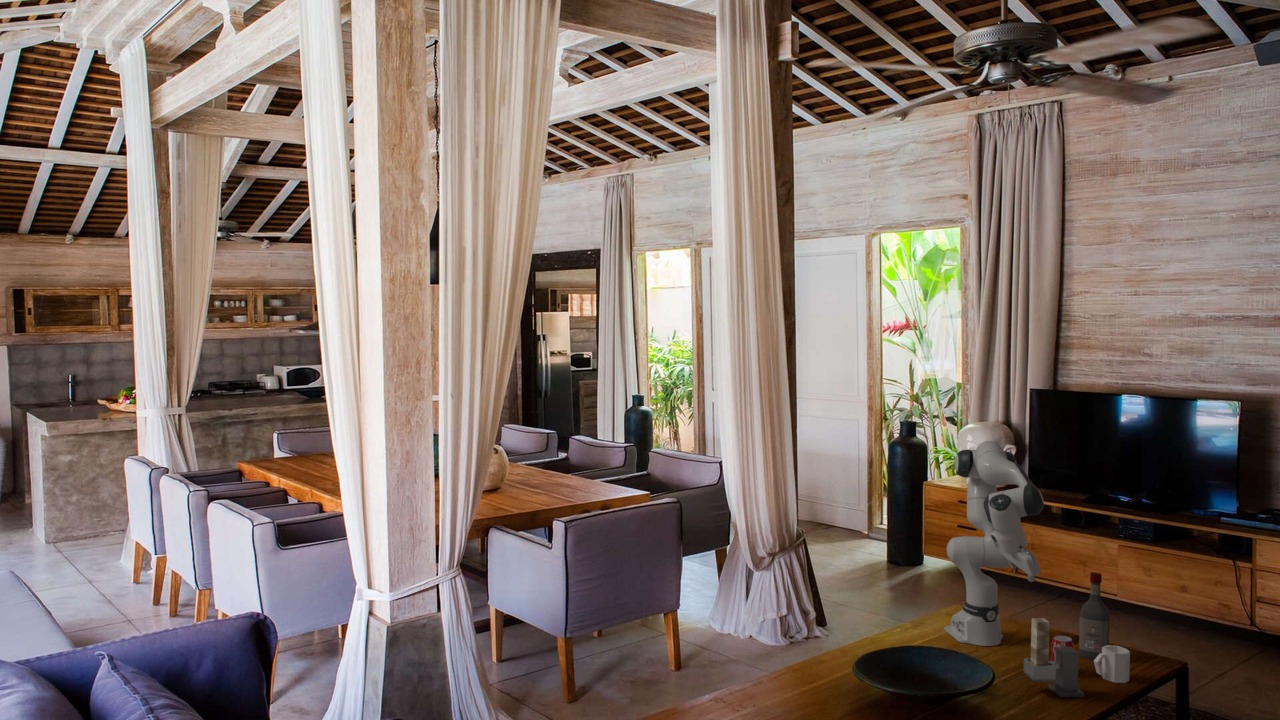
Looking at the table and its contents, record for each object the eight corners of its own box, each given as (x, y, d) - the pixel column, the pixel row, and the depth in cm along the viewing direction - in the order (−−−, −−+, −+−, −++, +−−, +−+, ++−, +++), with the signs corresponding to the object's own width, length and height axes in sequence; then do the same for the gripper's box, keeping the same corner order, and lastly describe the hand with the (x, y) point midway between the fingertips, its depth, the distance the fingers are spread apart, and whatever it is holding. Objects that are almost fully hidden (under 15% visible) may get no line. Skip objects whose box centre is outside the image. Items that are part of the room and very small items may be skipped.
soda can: (1075, 677, 320) (1076, 642, 319) (1053, 675, 321) (1054, 640, 321) (1070, 669, 327) (1071, 635, 326) (1048, 667, 328) (1049, 633, 327)
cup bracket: (1033, 697, 303) (1034, 654, 302) (1022, 687, 311) (1023, 645, 310) (1084, 696, 304) (1085, 654, 303) (1072, 686, 312) (1073, 645, 311)
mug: (1116, 672, 324) (1117, 644, 324) (1135, 682, 316) (1135, 653, 315) (1086, 675, 321) (1087, 647, 321) (1104, 685, 313) (1105, 656, 312)
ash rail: (1035, 677, 305) (1037, 622, 304) (1030, 672, 309) (1031, 618, 308) (1048, 677, 305) (1049, 622, 304) (1042, 672, 309) (1043, 618, 308)
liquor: (1106, 662, 333) (1108, 578, 332) (1078, 657, 338) (1080, 574, 336) (1109, 654, 341) (1111, 572, 339) (1081, 649, 346) (1083, 568, 344)
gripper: (1039, 549, 303) (1050, 584, 308) (1002, 523, 323) (1013, 556, 327) (1022, 558, 303) (1033, 592, 307) (986, 532, 322) (997, 564, 326)
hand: (1022, 573), depth 317 cm, fingers open, 8 cm apart
